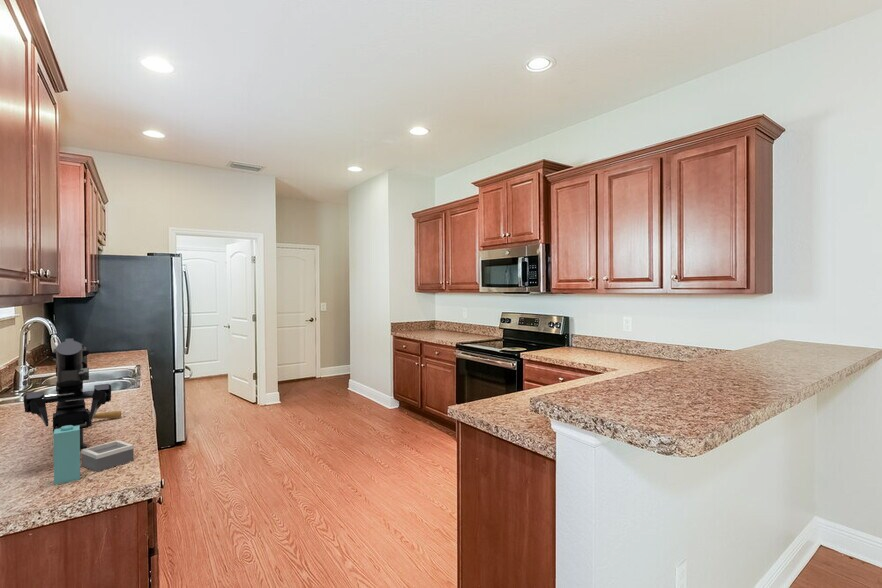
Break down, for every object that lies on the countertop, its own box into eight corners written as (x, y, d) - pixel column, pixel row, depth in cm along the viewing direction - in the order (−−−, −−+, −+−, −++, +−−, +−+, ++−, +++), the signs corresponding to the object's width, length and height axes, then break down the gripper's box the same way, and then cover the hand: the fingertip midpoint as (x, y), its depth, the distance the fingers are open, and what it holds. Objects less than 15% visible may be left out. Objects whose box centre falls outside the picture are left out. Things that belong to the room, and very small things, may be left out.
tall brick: (55, 478, 112) (54, 426, 112) (80, 473, 115) (79, 422, 115) (54, 485, 108) (53, 430, 108) (79, 479, 112) (79, 426, 111)
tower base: (81, 465, 121) (81, 449, 121) (118, 454, 128) (118, 439, 128) (96, 472, 116) (96, 455, 116) (133, 460, 124) (133, 445, 124)
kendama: (117, 419, 170) (56, 423, 157) (120, 403, 170) (60, 406, 157) (120, 426, 165) (58, 431, 152) (123, 411, 165) (61, 414, 152)
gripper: (24, 363, 117) (19, 410, 108) (110, 356, 129) (113, 398, 120) (27, 389, 122) (23, 436, 114) (109, 380, 134) (112, 421, 126)
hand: (69, 422), depth 118 cm, fingers open, 9 cm apart
